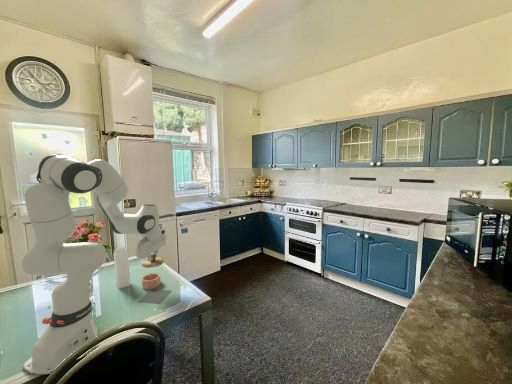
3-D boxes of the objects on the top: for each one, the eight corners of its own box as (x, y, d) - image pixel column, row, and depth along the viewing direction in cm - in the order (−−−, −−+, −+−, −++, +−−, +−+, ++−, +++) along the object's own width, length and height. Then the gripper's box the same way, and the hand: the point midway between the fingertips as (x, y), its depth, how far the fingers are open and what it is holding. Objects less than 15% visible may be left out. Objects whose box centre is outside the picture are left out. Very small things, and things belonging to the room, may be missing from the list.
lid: (156, 268, 119) (155, 260, 118) (136, 266, 121) (136, 258, 120) (168, 259, 130) (167, 251, 129) (150, 257, 132) (149, 250, 131)
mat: (160, 304, 115) (159, 303, 115) (137, 302, 117) (137, 301, 117) (172, 291, 127) (172, 290, 127) (152, 289, 129) (151, 288, 129)
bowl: (154, 290, 128) (153, 281, 127) (138, 289, 129) (138, 280, 129) (163, 281, 137) (162, 273, 136) (148, 280, 138) (148, 272, 138)
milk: (130, 285, 134) (127, 248, 131) (118, 289, 129) (115, 250, 127) (127, 281, 138) (124, 245, 135) (115, 285, 134) (112, 247, 131)
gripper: (143, 241, 112) (145, 269, 115) (167, 228, 132) (168, 252, 134) (131, 240, 114) (134, 267, 116) (157, 228, 134) (158, 251, 136)
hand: (152, 259), depth 125 cm, fingers closed on lid, 3 cm apart
